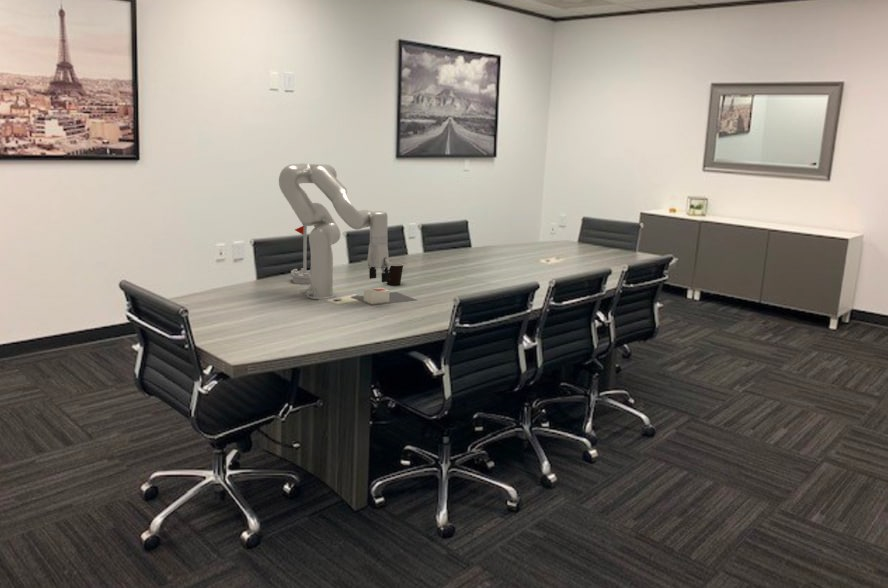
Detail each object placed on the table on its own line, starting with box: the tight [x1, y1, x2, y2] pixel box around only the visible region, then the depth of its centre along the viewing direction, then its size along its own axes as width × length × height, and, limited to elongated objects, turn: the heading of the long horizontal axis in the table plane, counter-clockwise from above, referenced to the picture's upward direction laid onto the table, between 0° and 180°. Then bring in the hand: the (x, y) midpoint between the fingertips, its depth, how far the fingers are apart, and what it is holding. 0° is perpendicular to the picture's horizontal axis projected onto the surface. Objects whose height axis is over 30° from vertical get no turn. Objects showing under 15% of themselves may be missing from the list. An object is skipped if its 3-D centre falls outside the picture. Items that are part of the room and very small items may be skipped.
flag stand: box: [290, 223, 311, 285], centre depth 347 cm, size 13×13×30 cm
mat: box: [350, 291, 417, 307], centre depth 321 cm, size 24×18×1 cm
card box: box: [363, 287, 391, 304], centre depth 314 cm, size 9×6×5 cm
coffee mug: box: [386, 262, 404, 287], centre depth 354 cm, size 12×9×10 cm
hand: (378, 280), depth 312 cm, fingers open, 9 cm apart
